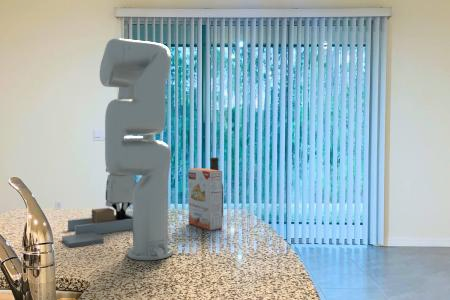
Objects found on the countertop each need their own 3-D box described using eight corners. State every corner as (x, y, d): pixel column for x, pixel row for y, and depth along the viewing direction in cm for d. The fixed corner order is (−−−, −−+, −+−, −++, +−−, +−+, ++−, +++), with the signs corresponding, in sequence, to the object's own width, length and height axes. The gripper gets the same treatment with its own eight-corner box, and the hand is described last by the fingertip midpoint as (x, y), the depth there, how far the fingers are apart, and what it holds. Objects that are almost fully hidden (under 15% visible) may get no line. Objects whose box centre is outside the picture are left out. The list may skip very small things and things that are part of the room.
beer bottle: (202, 214, 163) (202, 157, 162) (219, 212, 166) (219, 157, 166) (209, 217, 156) (209, 158, 155) (226, 216, 159) (226, 157, 159)
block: (114, 230, 135) (114, 210, 135) (96, 232, 132) (96, 212, 132) (108, 226, 140) (108, 207, 140) (91, 229, 137) (91, 209, 136)
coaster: (103, 242, 119) (103, 238, 119) (69, 247, 113) (69, 243, 113) (94, 235, 127) (94, 231, 127) (62, 240, 122) (62, 236, 122)
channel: (148, 227, 140) (147, 215, 140) (75, 237, 125) (75, 224, 125) (136, 221, 149) (136, 210, 149) (67, 230, 135) (67, 218, 134)
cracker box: (187, 224, 145) (187, 168, 144) (200, 221, 148) (200, 167, 148) (208, 231, 134) (208, 170, 133) (222, 228, 137) (222, 170, 137)
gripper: (103, 172, 132) (103, 226, 133) (144, 170, 140) (144, 220, 141) (96, 170, 138) (96, 221, 139) (136, 168, 146) (136, 216, 147)
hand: (120, 221), depth 140 cm, fingers closed
